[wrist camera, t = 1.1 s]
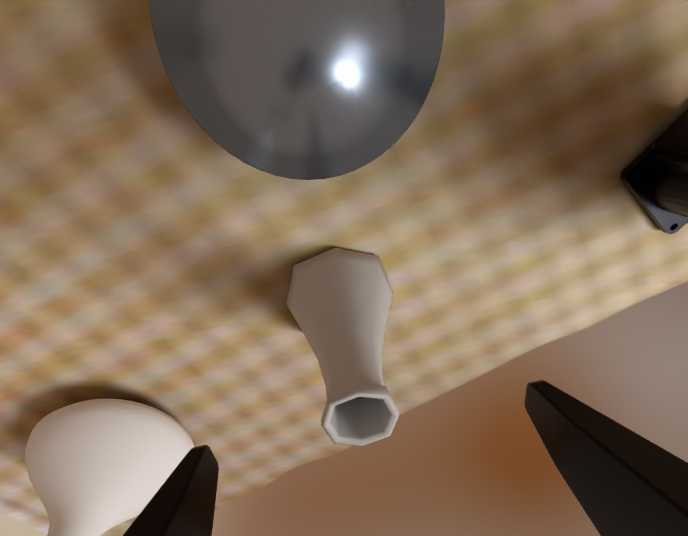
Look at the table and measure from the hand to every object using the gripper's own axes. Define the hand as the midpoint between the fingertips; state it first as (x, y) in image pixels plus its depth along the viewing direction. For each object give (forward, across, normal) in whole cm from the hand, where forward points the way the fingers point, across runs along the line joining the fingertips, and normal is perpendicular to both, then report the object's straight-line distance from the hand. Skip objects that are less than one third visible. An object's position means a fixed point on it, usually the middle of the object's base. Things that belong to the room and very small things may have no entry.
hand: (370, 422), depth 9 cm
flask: (+13, 0, +4) cm, 14 cm away
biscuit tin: (+13, 0, -11) cm, 17 cm away
